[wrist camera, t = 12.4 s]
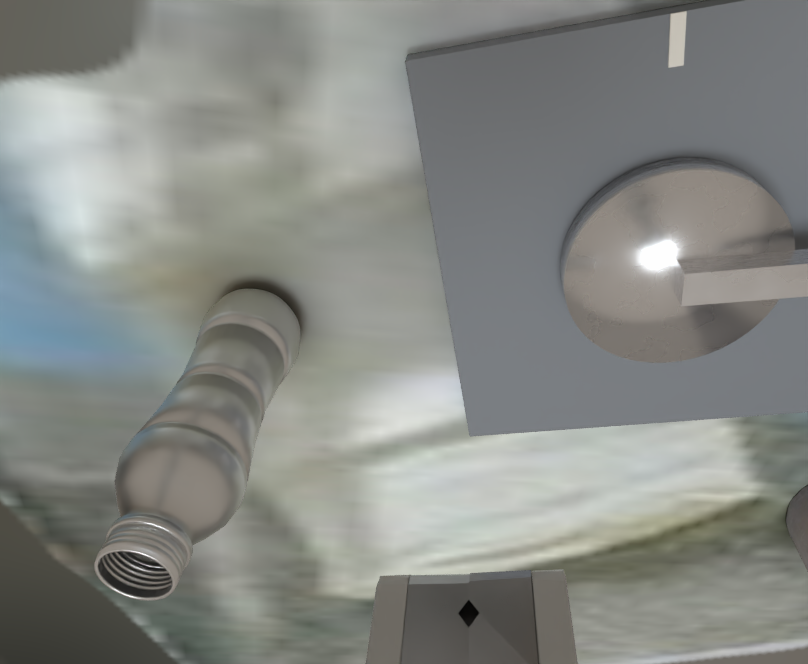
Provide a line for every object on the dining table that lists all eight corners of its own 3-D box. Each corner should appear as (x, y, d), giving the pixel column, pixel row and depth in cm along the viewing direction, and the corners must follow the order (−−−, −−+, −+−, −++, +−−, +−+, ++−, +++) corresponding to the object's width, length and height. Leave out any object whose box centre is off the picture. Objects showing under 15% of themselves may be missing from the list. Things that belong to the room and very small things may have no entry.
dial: (561, 350, 41) (576, 424, 35) (558, 171, 34) (575, 227, 28) (859, 329, 38) (928, 407, 32) (919, 130, 31) (1019, 184, 26)
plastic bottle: (317, 292, 42) (218, 549, 26) (297, 367, 46) (200, 632, 29) (221, 263, 41) (57, 507, 25) (209, 342, 45) (61, 598, 29)
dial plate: (407, 54, 33) (404, 61, 32) (973, -48, 29) (998, -45, 27) (469, 422, 47) (469, 437, 46) (853, 393, 43) (866, 409, 42)
